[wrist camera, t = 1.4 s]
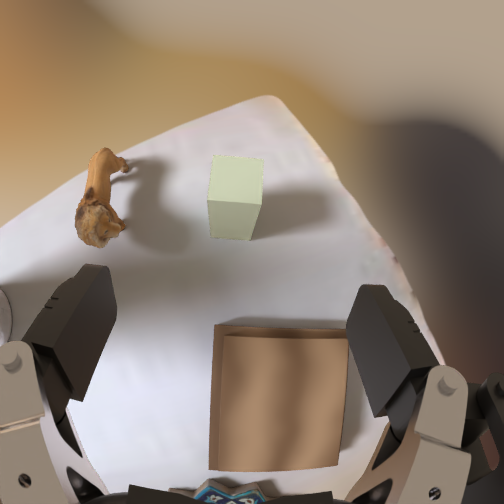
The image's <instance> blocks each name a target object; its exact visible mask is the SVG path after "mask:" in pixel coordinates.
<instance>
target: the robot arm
mask: <svg viewBox="0 0 504 504" xmlns="http://www.w3.org/2000/svg"><path fill="white" fill-rule="evenodd" d="M116 316H117V305H116V300H115V295H114V290H113V285H112V280H111V275H110V271H109V268H108V267H107V266H101V265H92V264H85V265H83V266H82V268H81V269H80V270H79V272H78V273H77V274H76V276H75V277H74V278H70V279H68V280H67V281H65V282H64V283H63V284H61V285H60V286H59V287H58V288H57V289H56V291H55V292H54V293H53V295H52V296H51V299H49V300H48V302H47V303H46V304H45V308H43V309H42V310H41V312H40V313H39V314H38V316H37V317H36V319H35V320H34V322H33V323H32V325H31V326H30V328H29V329H28V331H27V332H26V334H25V336H24V337H23V339H22V340H21V341H10V342H8V339H9V337H10V333H11V326H12V316H11V309H10V305H9V302H8V299H7V297H6V295H5V294H4V292H3V291H2V290H1V289H0V498H1V501H2V504H211V503H207V502H204V501H201V500H197V499H194V498H191V497H188V496H185V495H182V494H179V493H174V492H167V491H161V490H155V489H150V488H145V487H140V486H135V485H130V484H129V489H128V492H121V493H112V494H110V493H109V492H108V490H107V488H106V486H105V484H104V483H103V481H102V479H101V478H100V476H99V475H98V473H97V472H96V471H95V469H94V468H93V466H92V465H91V463H90V461H89V460H88V457H87V455H86V453H85V451H84V448H83V446H82V444H81V441H80V439H79V436H78V434H77V431H76V429H75V426H74V423H73V421H72V418H71V415H70V412H69V410H68V408H67V404H68V402H69V399H74V400H77V401H81V402H83V400H84V397H85V394H86V392H87V389H88V386H89V384H90V381H91V378H92V376H93V373H94V371H95V368H96V366H97V363H98V361H99V358H100V356H101V354H102V351H103V349H104V346H105V344H106V342H107V339H108V337H109V335H110V333H111V330H112V328H113V326H114V324H115V321H116ZM346 336H347V339H348V342H349V345H350V348H351V350H352V353H353V356H354V359H355V362H356V365H357V367H358V370H359V373H360V376H361V379H362V382H363V385H364V388H365V391H366V394H367V397H368V400H369V403H370V406H371V409H372V412H373V415H374V418H376V417H382V416H388V418H389V422H388V423H387V425H386V427H385V429H384V431H383V433H382V436H381V438H380V440H379V443H378V445H377V447H376V449H375V452H374V454H373V456H372V458H371V460H370V462H369V464H368V466H367V468H366V470H365V472H364V474H363V475H362V477H361V478H360V479H359V480H358V481H357V483H356V484H355V485H354V486H353V488H352V489H351V490H350V492H349V493H348V495H347V496H346V498H345V500H344V501H343V500H337V499H333V496H332V491H328V492H321V493H313V494H304V495H294V496H283V497H280V498H276V499H273V500H269V501H265V502H261V503H257V504H504V375H503V374H501V373H492V374H490V375H489V377H488V378H487V379H486V380H485V382H484V383H483V384H474V383H466V381H465V379H464V377H463V376H462V375H461V374H460V373H459V372H458V371H457V370H455V369H454V368H452V367H449V366H445V365H440V364H439V362H438V360H437V359H436V357H435V355H434V353H433V352H432V350H431V348H430V346H429V345H428V343H427V341H426V339H425V338H424V336H423V334H422V333H420V329H419V328H418V326H417V324H416V323H414V319H413V318H412V316H411V315H410V313H409V311H408V310H407V309H406V308H405V307H404V306H403V305H401V304H400V303H399V302H398V301H397V300H394V298H393V297H392V295H391V294H390V292H389V291H388V289H387V287H386V286H384V285H369V284H363V285H361V287H360V288H359V290H358V293H357V296H356V298H355V301H354V304H353V307H352V309H351V312H350V314H349V317H348V320H347V324H346ZM488 429H490V431H491V434H492V436H493V439H494V441H495V444H496V447H497V450H498V453H499V456H500V461H499V464H498V466H497V468H496V469H495V470H494V471H492V470H491V469H490V468H489V465H488V462H487V459H486V456H485V453H484V450H483V447H482V444H481V441H480V439H479V437H480V436H482V435H483V434H484V433H485V432H486V431H487V430H488Z"/></svg>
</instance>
